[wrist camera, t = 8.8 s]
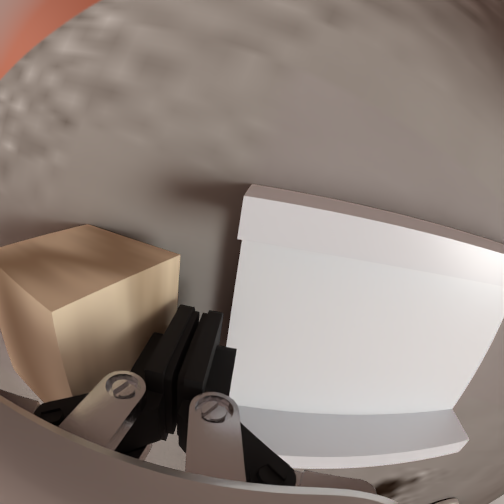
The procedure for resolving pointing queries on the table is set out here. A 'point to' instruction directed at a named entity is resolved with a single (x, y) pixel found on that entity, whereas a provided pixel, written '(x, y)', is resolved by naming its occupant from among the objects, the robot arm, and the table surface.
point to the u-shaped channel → (357, 329)
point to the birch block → (82, 306)
